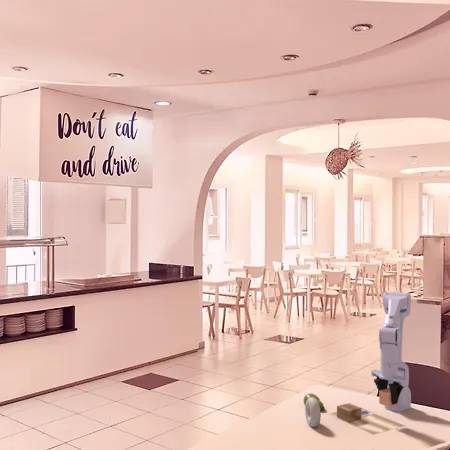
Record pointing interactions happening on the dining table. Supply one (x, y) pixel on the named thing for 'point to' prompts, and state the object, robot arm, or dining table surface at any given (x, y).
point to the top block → (385, 398)
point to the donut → (312, 412)
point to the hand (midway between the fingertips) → (388, 401)
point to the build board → (372, 422)
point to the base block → (349, 412)
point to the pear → (315, 398)
